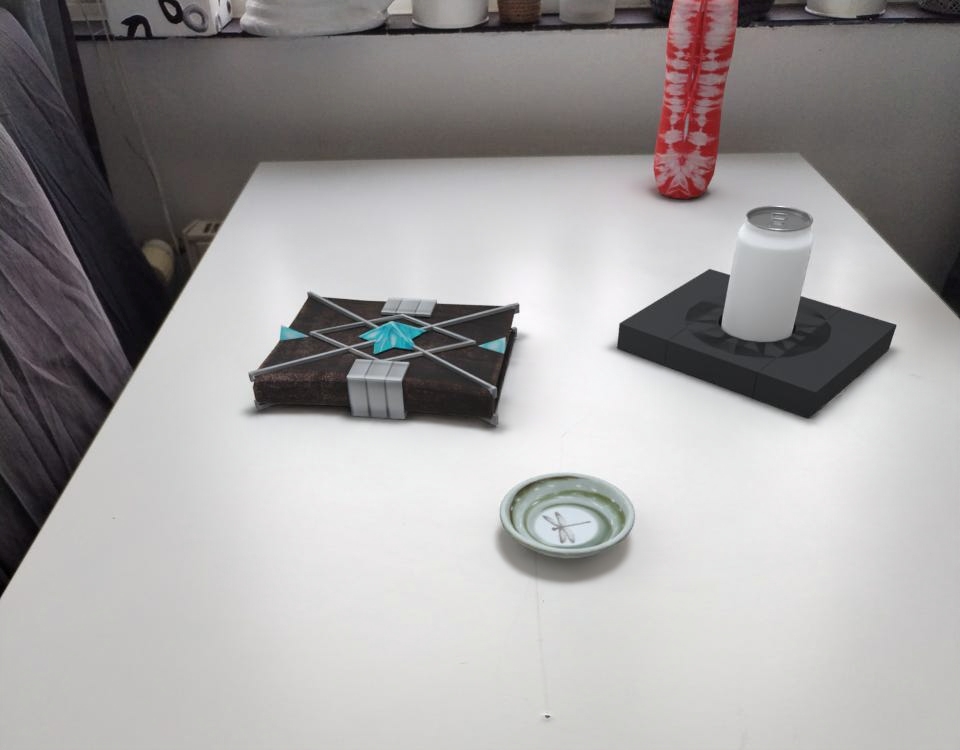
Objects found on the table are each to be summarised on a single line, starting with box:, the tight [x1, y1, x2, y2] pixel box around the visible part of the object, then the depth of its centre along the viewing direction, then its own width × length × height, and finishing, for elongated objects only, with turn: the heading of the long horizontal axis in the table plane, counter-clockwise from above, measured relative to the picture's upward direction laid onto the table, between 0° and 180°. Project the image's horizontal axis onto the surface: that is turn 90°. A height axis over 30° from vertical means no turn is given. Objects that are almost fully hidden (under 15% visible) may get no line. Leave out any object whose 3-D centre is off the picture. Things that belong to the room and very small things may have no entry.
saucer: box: [499, 472, 636, 559], centre depth 64 cm, size 10×10×2 cm
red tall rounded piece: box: [653, 0, 739, 200], centre depth 107 cm, size 12×8×25 cm, turn 162°
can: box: [721, 205, 814, 342], centre depth 81 cm, size 6×6×12 cm
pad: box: [616, 268, 897, 419], centre depth 84 cm, size 20×16×2 cm
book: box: [247, 290, 520, 427], centre depth 81 cm, size 22×17×5 cm
